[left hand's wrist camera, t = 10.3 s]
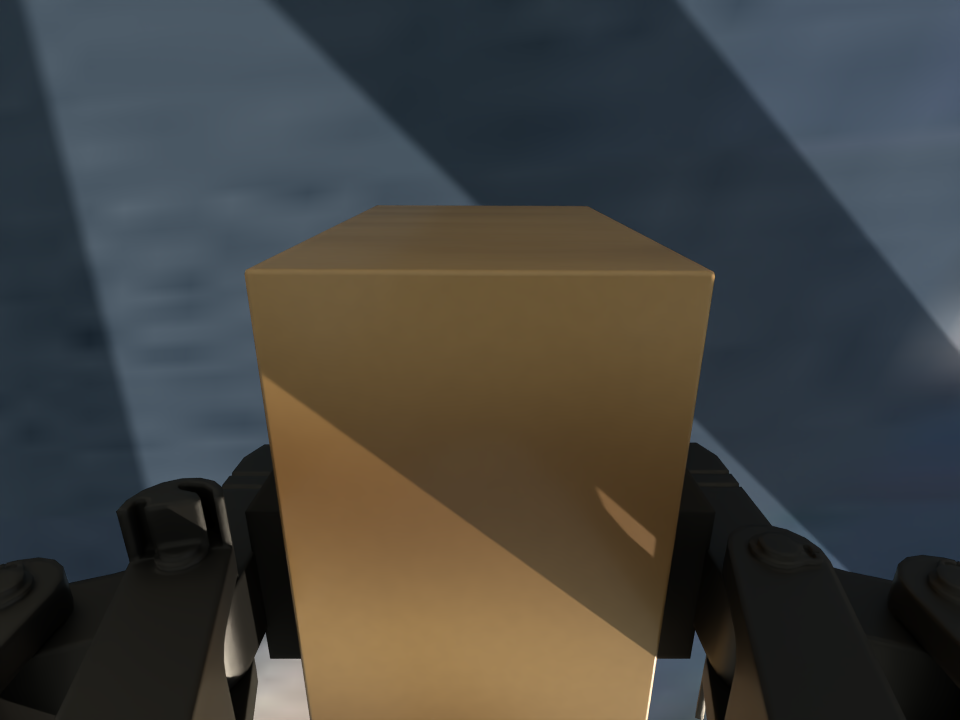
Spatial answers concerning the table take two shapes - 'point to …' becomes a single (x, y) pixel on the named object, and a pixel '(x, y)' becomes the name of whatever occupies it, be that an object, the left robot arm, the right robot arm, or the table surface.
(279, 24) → the table surface
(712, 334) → the table surface
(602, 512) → the beam
